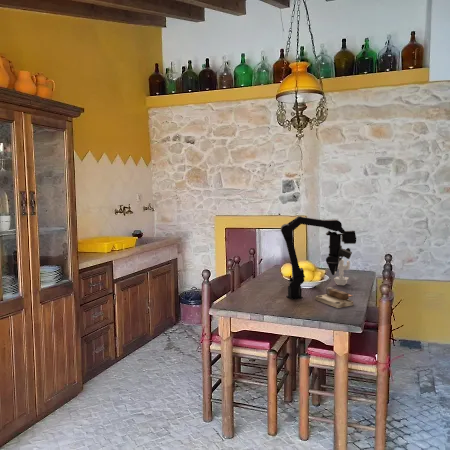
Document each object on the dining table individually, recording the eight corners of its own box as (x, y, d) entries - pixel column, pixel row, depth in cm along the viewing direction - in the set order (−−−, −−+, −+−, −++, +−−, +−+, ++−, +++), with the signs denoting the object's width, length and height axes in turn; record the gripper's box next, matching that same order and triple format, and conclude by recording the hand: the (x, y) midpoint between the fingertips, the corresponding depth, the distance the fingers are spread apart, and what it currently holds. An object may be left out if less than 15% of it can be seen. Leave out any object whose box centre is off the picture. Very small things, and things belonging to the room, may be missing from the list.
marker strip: (336, 298, 227) (336, 298, 227) (331, 297, 231) (331, 296, 231) (352, 296, 232) (352, 295, 232) (347, 294, 235) (347, 293, 235)
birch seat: (337, 308, 211) (337, 303, 211) (315, 299, 226) (315, 295, 226) (353, 305, 215) (353, 300, 215) (331, 297, 231) (331, 293, 230)
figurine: (334, 282, 263) (334, 257, 261) (350, 283, 259) (350, 258, 257) (331, 285, 256) (331, 259, 255) (348, 286, 252) (348, 260, 251)
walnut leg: (325, 293, 229) (325, 287, 228) (331, 293, 230) (331, 287, 230) (343, 300, 216) (343, 293, 216) (348, 299, 218) (348, 292, 217)
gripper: (348, 247, 215) (348, 278, 217) (353, 242, 233) (352, 270, 234) (326, 246, 220) (325, 276, 221) (331, 241, 237) (331, 269, 238)
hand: (334, 273), depth 229 cm, fingers open, 9 cm apart
